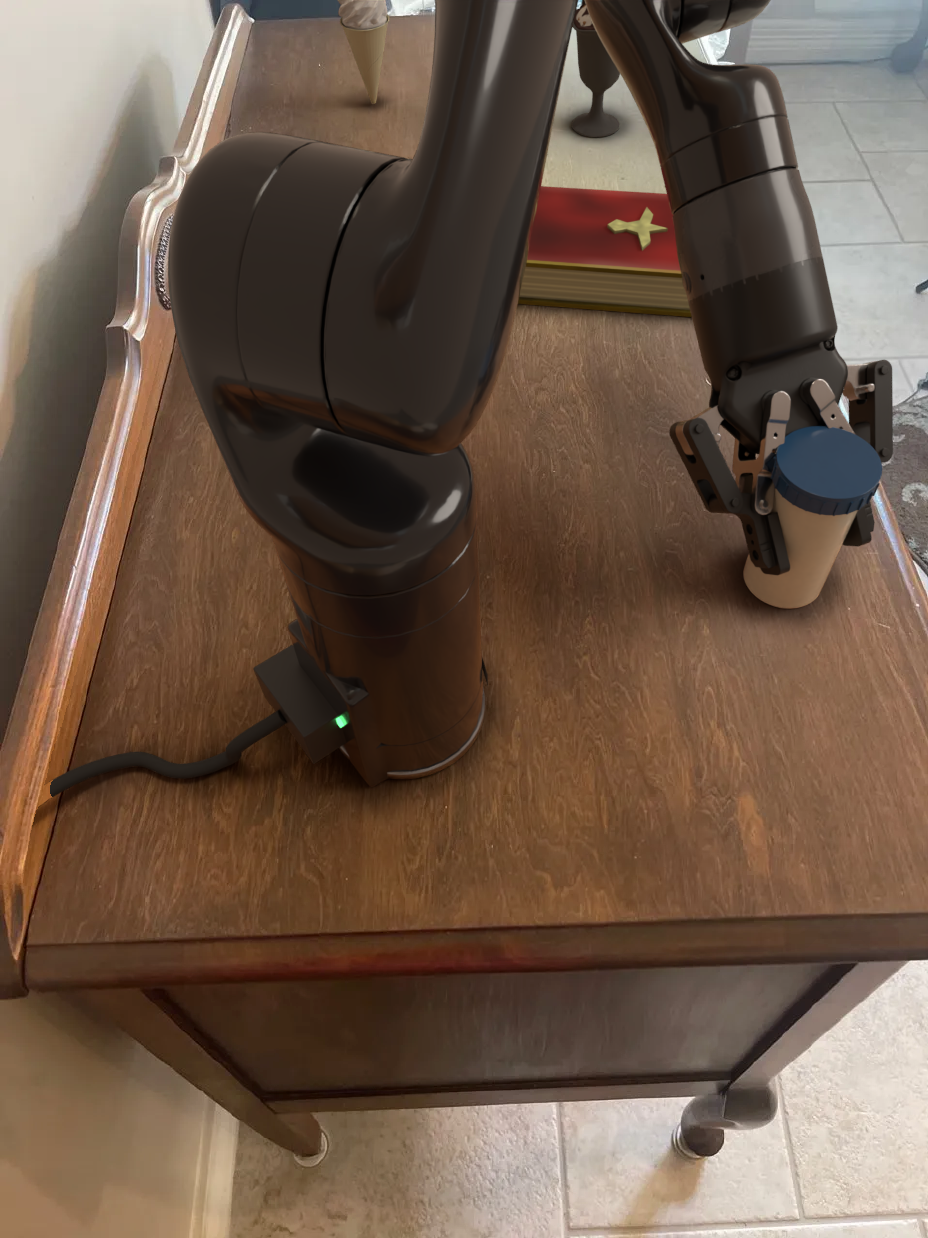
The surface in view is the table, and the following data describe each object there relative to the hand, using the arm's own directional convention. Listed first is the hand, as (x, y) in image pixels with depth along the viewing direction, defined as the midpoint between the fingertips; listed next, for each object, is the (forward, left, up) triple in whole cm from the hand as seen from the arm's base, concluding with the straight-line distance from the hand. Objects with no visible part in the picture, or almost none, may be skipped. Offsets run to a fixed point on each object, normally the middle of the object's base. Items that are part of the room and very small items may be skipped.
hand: (816, 557), depth 56 cm
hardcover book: (+13, +36, -4) cm, 38 cm away
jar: (0, +2, -4) cm, 5 cm away
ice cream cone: (+15, +73, +4) cm, 74 cm away
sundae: (+30, +54, -4) cm, 62 cm away
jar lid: (0, +2, +6) cm, 6 cm away
